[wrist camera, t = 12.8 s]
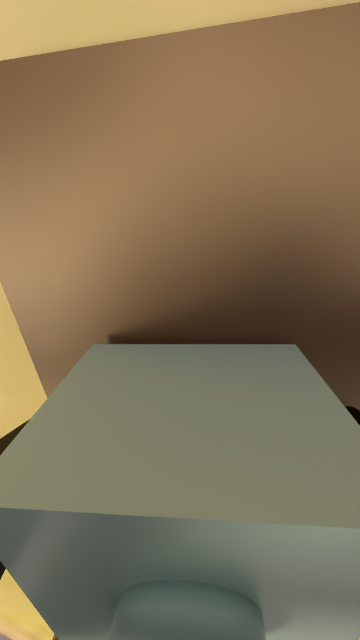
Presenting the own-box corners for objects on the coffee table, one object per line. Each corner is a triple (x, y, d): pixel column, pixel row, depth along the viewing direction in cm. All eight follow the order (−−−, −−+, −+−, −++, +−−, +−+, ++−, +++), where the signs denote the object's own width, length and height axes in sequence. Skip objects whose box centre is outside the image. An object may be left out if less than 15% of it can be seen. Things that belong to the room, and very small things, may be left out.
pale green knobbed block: (93, 344, 6) (-76, 546, 2) (295, 344, 6) (489, 590, 2) (120, 470, 9) (56, 683, 5) (269, 476, 8) (337, 717, 4)
